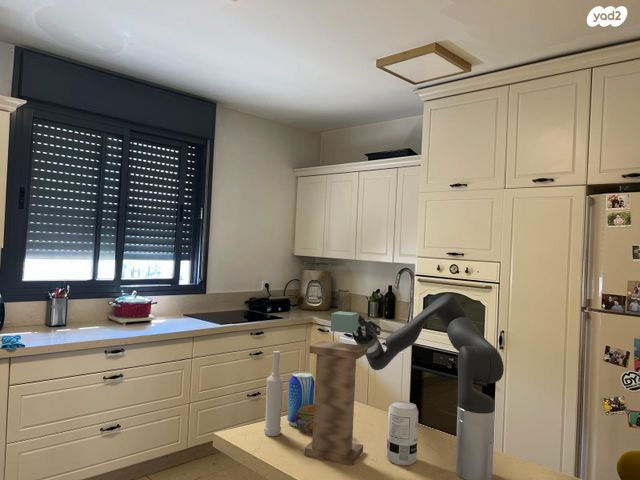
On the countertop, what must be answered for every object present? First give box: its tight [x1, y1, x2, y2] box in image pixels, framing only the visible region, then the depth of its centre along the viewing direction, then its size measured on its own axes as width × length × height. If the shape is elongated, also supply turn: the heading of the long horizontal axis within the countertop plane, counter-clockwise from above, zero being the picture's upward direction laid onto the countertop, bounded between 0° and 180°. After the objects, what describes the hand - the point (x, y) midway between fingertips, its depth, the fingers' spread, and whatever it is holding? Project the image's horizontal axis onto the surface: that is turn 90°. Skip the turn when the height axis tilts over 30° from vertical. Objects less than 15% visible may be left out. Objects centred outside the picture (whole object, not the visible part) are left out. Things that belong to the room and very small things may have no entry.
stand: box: [303, 340, 368, 467], centre depth 131 cm, size 14×10×30 cm
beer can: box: [286, 371, 315, 428], centre depth 153 cm, size 8×8×16 cm
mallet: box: [330, 311, 360, 334], centre depth 141 cm, size 6×19×5 cm, turn 159°
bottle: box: [263, 350, 284, 437], centre depth 144 cm, size 5×5×25 cm
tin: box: [295, 404, 314, 434], centre depth 147 cm, size 15×3×8 cm, turn 84°
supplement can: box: [386, 400, 419, 466], centre depth 129 cm, size 8×8×15 cm
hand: (354, 317), depth 145 cm, fingers closed on mallet, 2 cm apart
